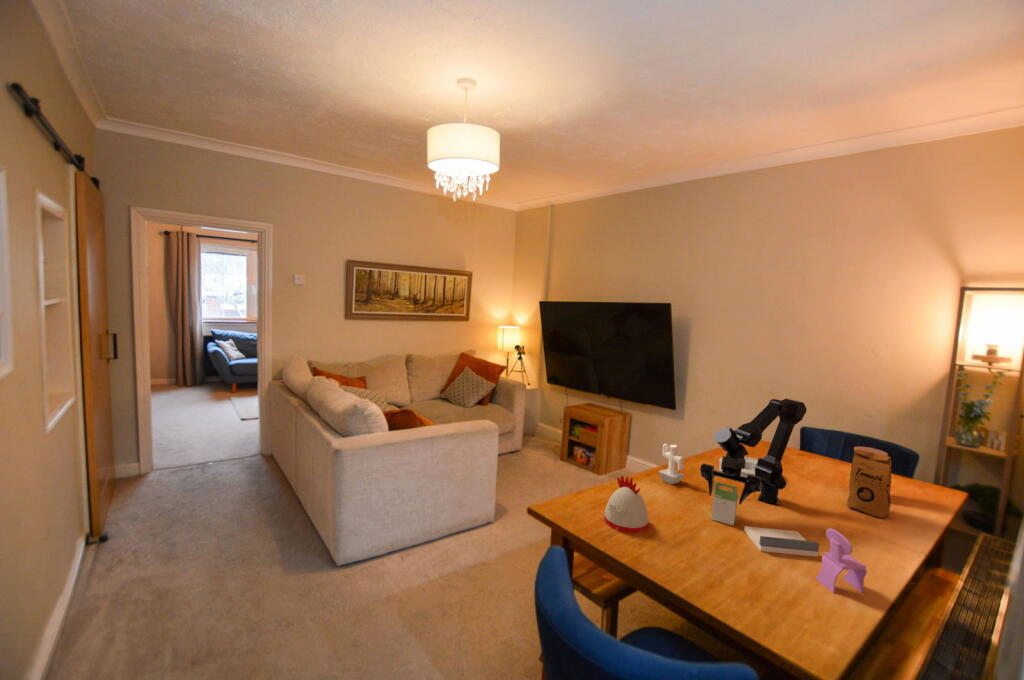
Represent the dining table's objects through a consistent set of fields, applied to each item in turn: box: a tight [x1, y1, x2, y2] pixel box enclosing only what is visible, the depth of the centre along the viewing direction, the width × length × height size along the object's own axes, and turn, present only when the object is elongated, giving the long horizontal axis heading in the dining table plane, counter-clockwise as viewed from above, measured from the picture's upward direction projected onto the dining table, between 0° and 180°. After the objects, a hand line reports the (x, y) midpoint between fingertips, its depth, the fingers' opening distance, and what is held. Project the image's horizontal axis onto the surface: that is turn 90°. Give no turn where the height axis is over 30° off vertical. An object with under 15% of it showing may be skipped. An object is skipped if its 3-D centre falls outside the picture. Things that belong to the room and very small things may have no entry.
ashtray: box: [718, 455, 762, 484], centre depth 199 cm, size 23×23×4 cm
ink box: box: [710, 481, 739, 526], centre depth 153 cm, size 7×4×13 cm, turn 58°
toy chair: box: [815, 527, 868, 594], centre depth 120 cm, size 8×9×15 cm
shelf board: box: [743, 525, 820, 558], centre depth 141 cm, size 12×16×4 cm
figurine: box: [658, 443, 686, 485], centre depth 185 cm, size 7×9×15 cm
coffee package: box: [846, 449, 892, 520], centre depth 166 cm, size 10×12×22 cm
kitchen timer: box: [603, 475, 649, 534], centre depth 149 cm, size 14×14×15 cm
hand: (724, 499), depth 153 cm, fingers open, 9 cm apart
